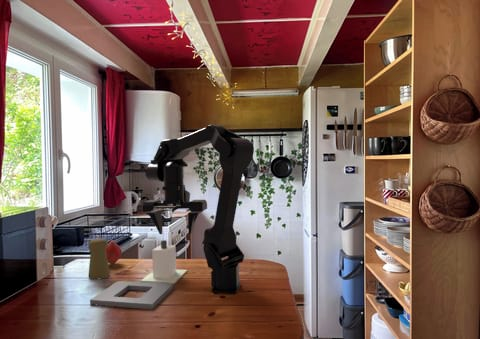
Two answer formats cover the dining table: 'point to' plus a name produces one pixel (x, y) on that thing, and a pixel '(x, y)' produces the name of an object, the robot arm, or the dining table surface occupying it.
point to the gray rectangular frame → (145, 302)
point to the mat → (164, 280)
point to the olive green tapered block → (98, 259)
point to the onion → (113, 252)
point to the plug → (164, 261)
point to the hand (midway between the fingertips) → (175, 234)
